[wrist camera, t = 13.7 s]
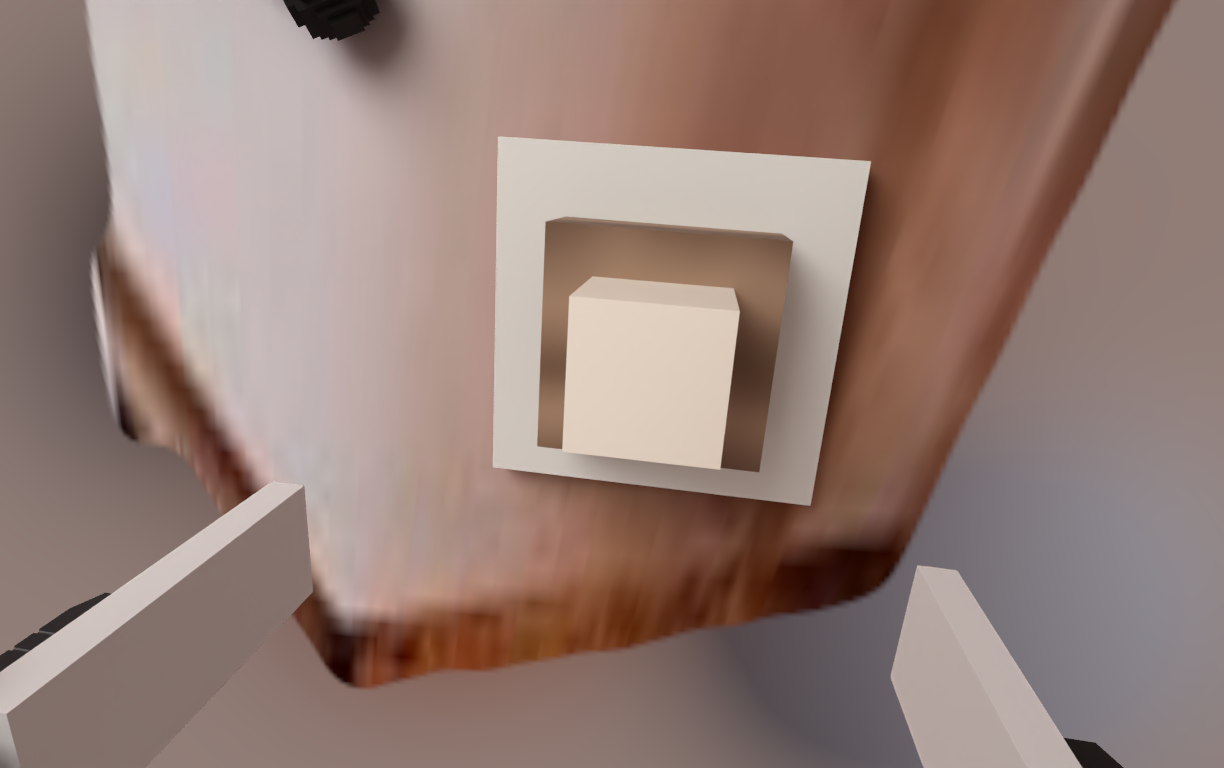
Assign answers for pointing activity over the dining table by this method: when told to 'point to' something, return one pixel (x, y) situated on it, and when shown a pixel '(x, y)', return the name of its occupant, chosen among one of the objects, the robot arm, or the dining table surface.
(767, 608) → the dining table surface
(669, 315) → the cream brick
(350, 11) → the toy
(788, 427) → the plinth
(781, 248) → the walnut brick
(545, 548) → the dining table surface
